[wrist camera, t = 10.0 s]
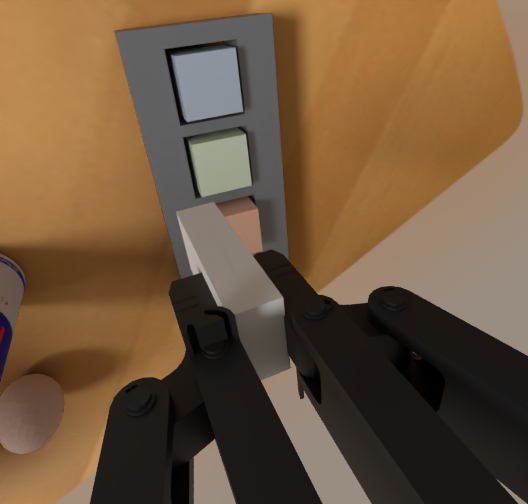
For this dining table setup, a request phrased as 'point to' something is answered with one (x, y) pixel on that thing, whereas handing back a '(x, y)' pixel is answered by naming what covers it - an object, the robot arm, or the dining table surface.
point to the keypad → (209, 120)
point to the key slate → (205, 81)
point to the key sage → (218, 161)
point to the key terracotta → (243, 221)
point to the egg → (30, 412)
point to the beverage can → (9, 303)
